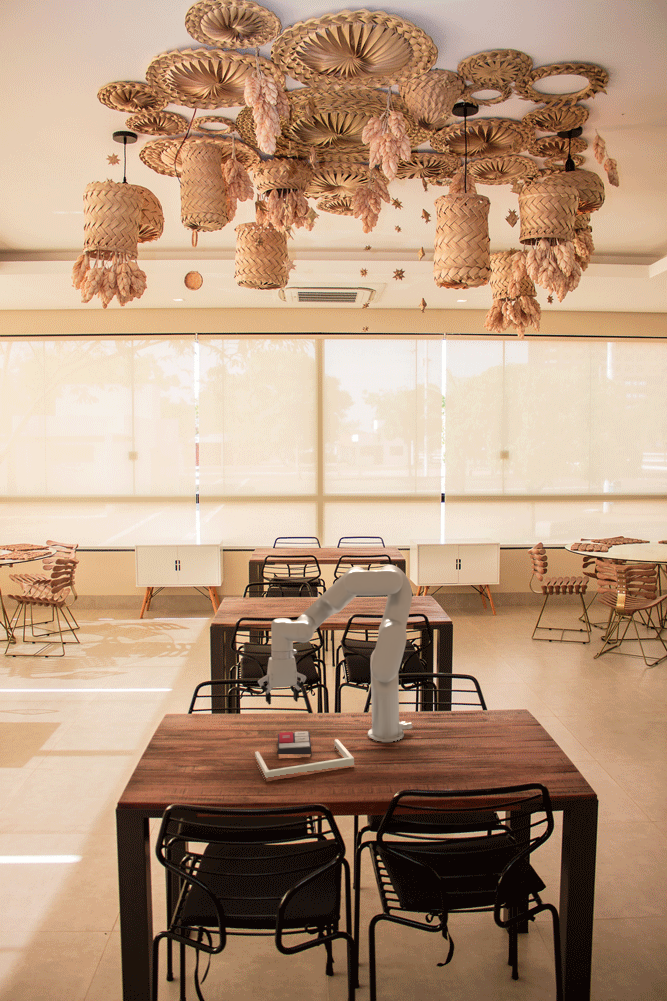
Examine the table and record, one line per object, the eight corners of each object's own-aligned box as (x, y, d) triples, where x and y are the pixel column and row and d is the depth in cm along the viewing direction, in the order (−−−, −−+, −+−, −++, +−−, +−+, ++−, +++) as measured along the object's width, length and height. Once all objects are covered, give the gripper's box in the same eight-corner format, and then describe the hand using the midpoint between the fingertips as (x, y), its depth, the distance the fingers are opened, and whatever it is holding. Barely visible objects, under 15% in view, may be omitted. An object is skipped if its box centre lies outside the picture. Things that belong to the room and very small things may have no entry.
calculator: (309, 729, 247) (311, 745, 232) (309, 742, 247) (311, 758, 233) (277, 731, 247) (277, 746, 232) (278, 743, 247) (277, 760, 232)
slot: (338, 747, 240) (337, 739, 239) (354, 767, 224) (353, 758, 224) (255, 760, 231) (254, 751, 231) (266, 782, 216) (265, 772, 215)
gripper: (303, 649, 255) (303, 695, 256) (255, 653, 250) (255, 701, 251) (308, 654, 248) (308, 702, 249) (260, 659, 243) (260, 708, 244)
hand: (282, 701), depth 250 cm, fingers open, 9 cm apart
